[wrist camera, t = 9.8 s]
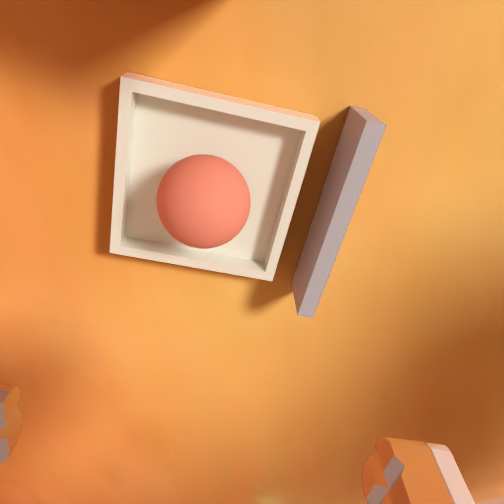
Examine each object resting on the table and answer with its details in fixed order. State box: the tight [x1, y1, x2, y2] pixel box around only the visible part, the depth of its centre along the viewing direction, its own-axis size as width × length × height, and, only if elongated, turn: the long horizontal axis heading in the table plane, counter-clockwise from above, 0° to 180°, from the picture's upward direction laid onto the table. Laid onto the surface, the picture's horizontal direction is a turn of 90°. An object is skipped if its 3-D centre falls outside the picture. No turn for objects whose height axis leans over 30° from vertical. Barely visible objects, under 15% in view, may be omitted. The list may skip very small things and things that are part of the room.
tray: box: [110, 72, 320, 281], centre depth 24 cm, size 10×10×2 cm
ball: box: [156, 154, 251, 249], centre depth 22 cm, size 5×5×5 cm
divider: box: [292, 106, 387, 318], centre depth 24 cm, size 1×12×4 cm, turn 168°
